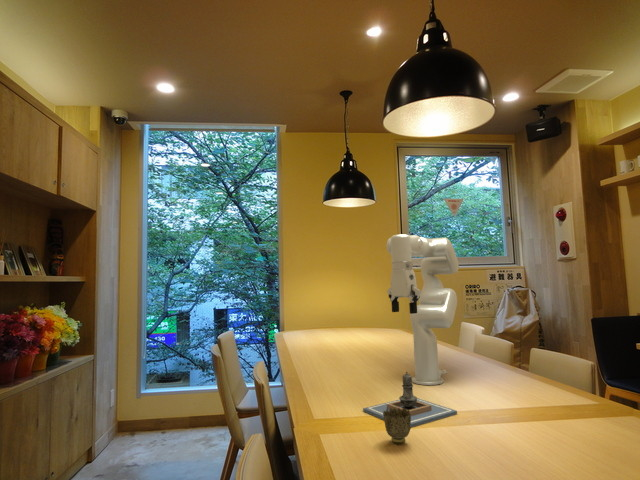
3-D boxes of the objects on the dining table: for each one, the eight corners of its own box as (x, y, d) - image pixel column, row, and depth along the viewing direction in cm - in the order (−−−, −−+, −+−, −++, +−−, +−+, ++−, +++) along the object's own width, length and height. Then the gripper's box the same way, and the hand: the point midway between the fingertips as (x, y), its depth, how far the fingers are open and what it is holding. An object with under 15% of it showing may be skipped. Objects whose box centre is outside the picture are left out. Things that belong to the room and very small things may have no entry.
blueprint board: (412, 399, 147) (411, 392, 147) (457, 414, 130) (456, 405, 130) (363, 411, 135) (362, 403, 135) (405, 429, 118) (404, 420, 118)
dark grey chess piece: (418, 412, 129) (416, 373, 130) (399, 412, 130) (397, 373, 131) (417, 406, 135) (415, 369, 136) (399, 406, 136) (397, 369, 137)
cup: (381, 438, 112) (380, 408, 113) (407, 436, 113) (406, 406, 114) (388, 449, 105) (386, 417, 106) (416, 447, 106) (414, 415, 106)
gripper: (425, 266, 150) (428, 313, 148) (394, 267, 165) (396, 310, 163) (410, 266, 146) (413, 314, 144) (379, 268, 161) (381, 312, 159)
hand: (404, 312), depth 154 cm, fingers open, 9 cm apart
